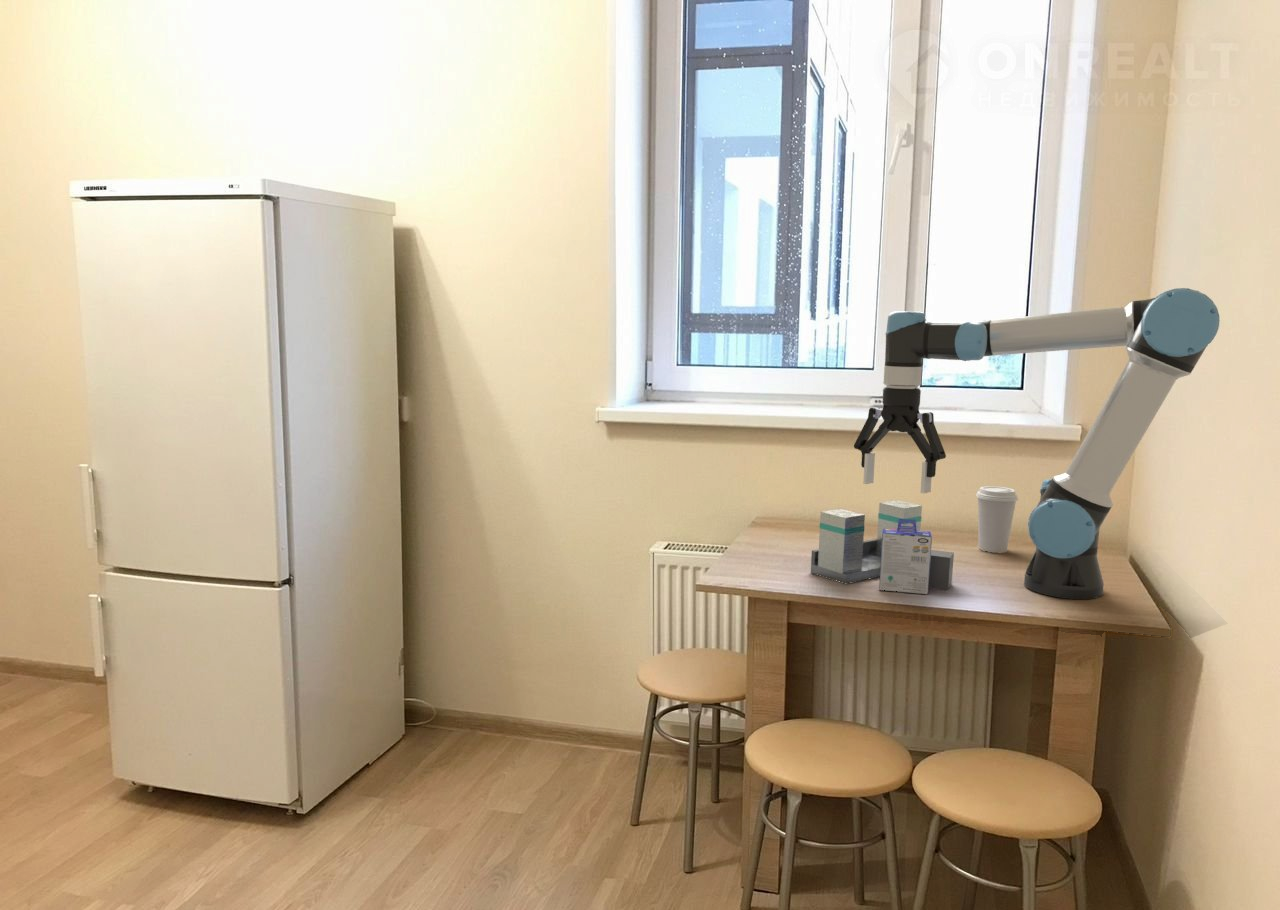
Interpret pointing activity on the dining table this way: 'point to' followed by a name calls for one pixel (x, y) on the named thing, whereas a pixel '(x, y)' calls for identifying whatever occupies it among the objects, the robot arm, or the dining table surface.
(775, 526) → the dining table surface
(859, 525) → the grey stand with boxes
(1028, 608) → the dining table surface
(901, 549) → the ink cartridge box
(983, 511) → the coffee cup
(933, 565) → the block
